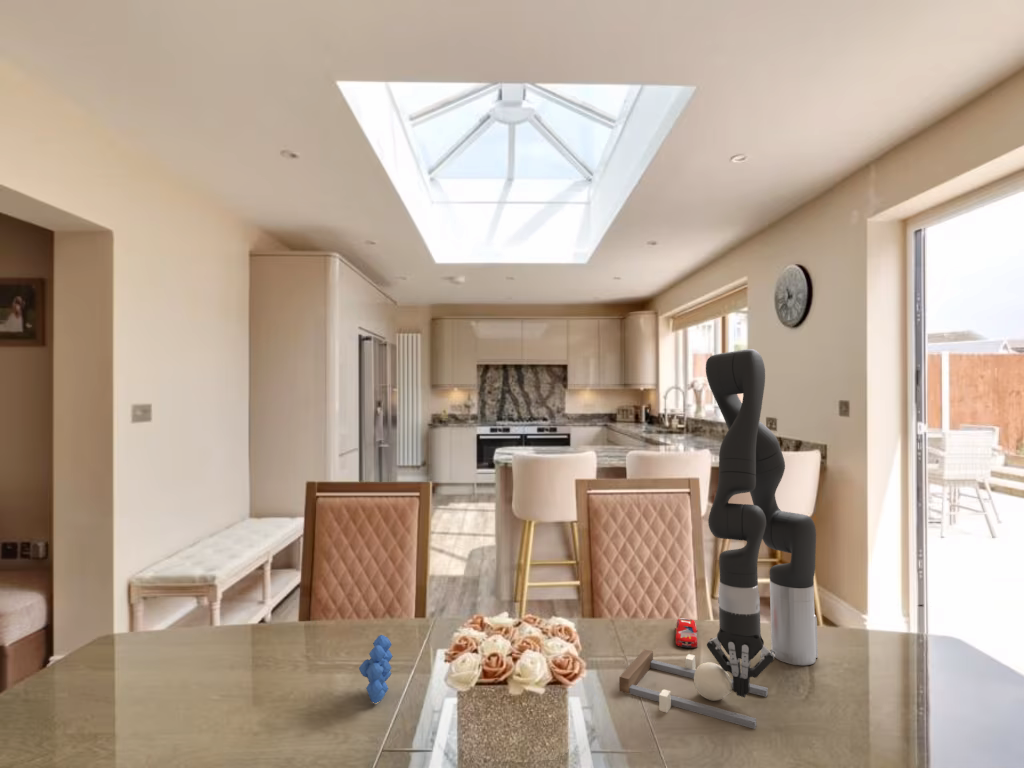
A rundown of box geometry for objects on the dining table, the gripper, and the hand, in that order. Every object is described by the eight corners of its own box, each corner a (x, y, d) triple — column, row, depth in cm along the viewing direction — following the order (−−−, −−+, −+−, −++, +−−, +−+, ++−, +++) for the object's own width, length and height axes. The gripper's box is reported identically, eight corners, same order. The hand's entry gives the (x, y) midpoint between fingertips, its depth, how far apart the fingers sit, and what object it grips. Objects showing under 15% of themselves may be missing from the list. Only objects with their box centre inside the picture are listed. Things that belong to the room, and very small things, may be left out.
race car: (698, 652, 136) (697, 635, 136) (674, 649, 137) (674, 632, 137) (697, 630, 148) (697, 614, 148) (676, 627, 150) (675, 612, 150)
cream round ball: (730, 711, 109) (729, 675, 110) (691, 701, 113) (690, 667, 113) (735, 694, 115) (734, 661, 115) (697, 686, 119) (697, 654, 119)
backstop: (653, 664, 129) (652, 651, 129) (628, 693, 116) (628, 679, 116) (644, 662, 130) (644, 649, 130) (619, 691, 117) (619, 676, 117)
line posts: (695, 669, 126) (695, 655, 126) (667, 712, 109) (666, 696, 109) (688, 667, 127) (688, 654, 127) (659, 710, 110) (659, 694, 110)
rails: (767, 693, 116) (767, 687, 116) (754, 729, 103) (754, 722, 103) (652, 665, 129) (652, 659, 129) (629, 693, 116) (629, 687, 116)
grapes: (366, 683, 122) (366, 626, 122) (398, 682, 122) (397, 626, 122) (350, 713, 110) (350, 650, 111) (385, 712, 110) (384, 650, 111)
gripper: (778, 605, 112) (780, 694, 111) (709, 594, 119) (711, 678, 118) (773, 618, 105) (775, 713, 105) (700, 605, 112) (702, 694, 112)
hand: (741, 694), depth 111 cm, fingers closed
